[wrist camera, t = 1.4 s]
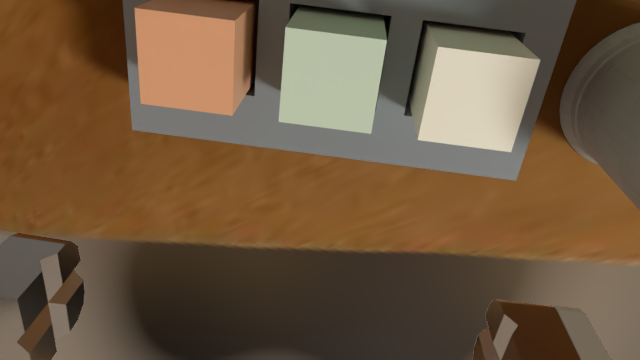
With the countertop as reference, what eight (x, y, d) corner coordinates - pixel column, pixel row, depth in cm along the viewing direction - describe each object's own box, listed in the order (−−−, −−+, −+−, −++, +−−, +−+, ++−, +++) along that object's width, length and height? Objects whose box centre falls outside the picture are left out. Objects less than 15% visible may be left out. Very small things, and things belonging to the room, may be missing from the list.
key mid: (382, 11, 25) (386, 40, 20) (369, 89, 27) (370, 133, 22) (302, 1, 25) (285, 27, 20) (295, 79, 27) (278, 121, 22)
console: (548, -39, 26) (585, -27, 21) (494, 140, 31) (516, 180, 26) (157, -88, 26) (115, -86, 22) (165, 97, 31) (132, 129, 27)
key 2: (503, 27, 25) (540, 59, 20) (482, 103, 27) (510, 152, 22) (422, 16, 25) (437, 46, 20) (407, 94, 27) (417, 140, 22)
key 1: (262, -4, 25) (234, 20, 20) (258, 74, 27) (232, 115, 22) (182, -14, 25) (134, 7, 20) (184, 65, 27) (140, 103, 22)
